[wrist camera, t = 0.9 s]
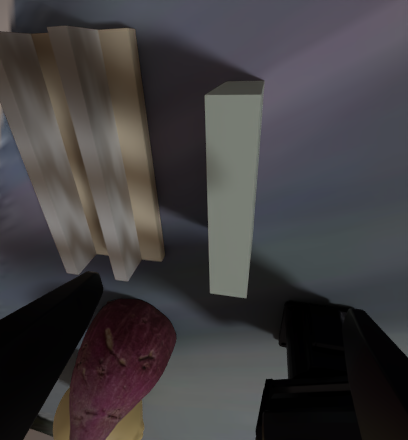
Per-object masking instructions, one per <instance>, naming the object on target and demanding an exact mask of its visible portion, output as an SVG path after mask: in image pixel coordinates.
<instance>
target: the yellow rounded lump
mask: <svg viewBox="0 0 408 440" xmlns="http://www.w3.org/2000/svg"><path fill="white" fill-rule="evenodd" d="M69 394H70V388H69V389H68V390H67V391H66V393H65V394H64V396H63V397H62V399H61V401H60V403H59V405H58V408H57V410H56V414H55V417H54V423H53V436H54V440H69V436H70V414H69ZM143 430H144V423H143V418H142V399H141V401H140V402H139V403H138V404H137V405H136V406H135V407H134V408H133V409H132V410H131V411H130V412H129V413H128V414H127V415H126V416H125V417H124V418H123V419H122V420H121V421H120V422H119V423H118V424H117V425H116V426H115V428H114V429H113V430H112V432H111V433H110V434H109V436H108V437H107V438H106V440H141V439H142V437H143Z"/></svg>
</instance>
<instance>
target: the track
mask: <svg viewBox="0 0 408 440" xmlns="http://www.w3.org/2000/svg"><path fill="white" fill-rule="evenodd" d="M47 30H48V33H36V34H27V33H14V32H1V31H0V103H1V105H2V108H3V111H4V113H5V116H6V118H7V121H8V123H9V126H10V129H11V131H12V134H13V136H14V139H15V141H16V144H17V146H18V149H19V152H20V154H21V157H22V159H23V162H24V164H25V167H26V169H27V172H28V175H29V177H30V180H31V182H32V185H33V187H34V190H35V193H36V195H37V198H38V200H39V203H40V205H41V208H42V210H43V213H44V216H45V218H46V221H47V223H48V226H49V228H50V231H51V234H52V236H53V239H54V241H55V244H56V246H57V249H58V251H59V254H60V257H61V259H62V262H63V264H64V267H65V269H66V272H67V273H70V274H77V275H79V274H80V273H81V271H82V270H83V269H84V268H85V267H86V266H87V265H88V263H89V262H90V261H91V260H92V259H93V258H94V257H95V255H96V254H101V255H109V258H110V262H111V266H112V269H113V273H114V277H115V280H121V281H129V279H130V278H131V276H132V274H133V273H134V271H135V270H136V268H137V266H138V265H139V263H140V262H141V260H142V259H143V260H151V261H159V262H162V260H163V258H164V257H165V250H164V242H163V235H162V227H161V220H160V212H159V205H158V197H157V190H156V182H155V175H154V167H153V160H152V152H151V145H150V137H149V130H148V122H147V115H146V107H145V100H144V92H143V85H142V77H141V70H140V63H139V55H138V48H137V40H136V33H135V29H131V28H120V29H104V30H95V29H88V28H80V27H73V26H54V27H47Z"/></svg>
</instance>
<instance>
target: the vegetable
mask: <svg viewBox="0 0 408 440" xmlns="http://www.w3.org/2000/svg"><path fill="white" fill-rule="evenodd" d="M175 343H176V333H175V330H174V327H173V325H172V323H171V322H170V320H169V319H168V318H167V317H166V316H165V315H164V314H162V313H161V312H160V311H159V310H157V309H156V308H155V307H154V306H152V305H150V304H148V303H147V302H144V301H142V300H138V299H117V300H113V301H108V302H107V304H106V305H105V306H104V307H103V308H102V309H101V310H100V311H99V313H98V314H97V315H96V317H95V318H94V320H93V321H92V323H91V325H90V327H89V329H88V330H87V332H86V334H85V337H84V339H83V342H82V345H81V347H80V349H79V352H78V356H77V359H76V364H75V367H74V370H73V374H72V379H71V384H70V394H69V414H70V436H69V440H106V438H107V437H108V436H109V434H110V433H111V432H112V430H113V429H114V428H115V426H116V425H117V424H118V423H119V422H120V421H121V420H122V419H123V418H124V417H125V416H126V415H127V414H128V413H129V412H130V411H131V410H132V409H133V408H134V407H135V406H136V405H137V404H138V403H139V402H140V401H141V399H142V398H143V397H144V396H146V395H147V394H148V393H149V392H150V391H151V389H152V388H153V387H154V386H155V384H156V383H157V382H158V380H159V379H160V377H161V375H162V374H163V372H164V370H165V368H166V366H167V363H168V361H169V359H170V356H171V354H172V351H173V349H174V346H175Z"/></svg>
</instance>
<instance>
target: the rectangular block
mask: <svg viewBox="0 0 408 440" xmlns="http://www.w3.org/2000/svg"><path fill="white" fill-rule="evenodd" d="M263 94H264V81H226V82H225V83H223V84H221V85H220V86H218V87H217V88H215V89H213V90H212V91H210V92H209V93H207V94H206V95H205V126H206V164H207V201H208V238H209V275H210V293H211V294H218V295H226V296H233V297H240V298H247V289H248V279H249V269H250V259H251V249H252V238H253V226H254V212H255V199H256V186H257V173H258V160H259V147H260V134H261V121H262V107H263Z"/></svg>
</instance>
